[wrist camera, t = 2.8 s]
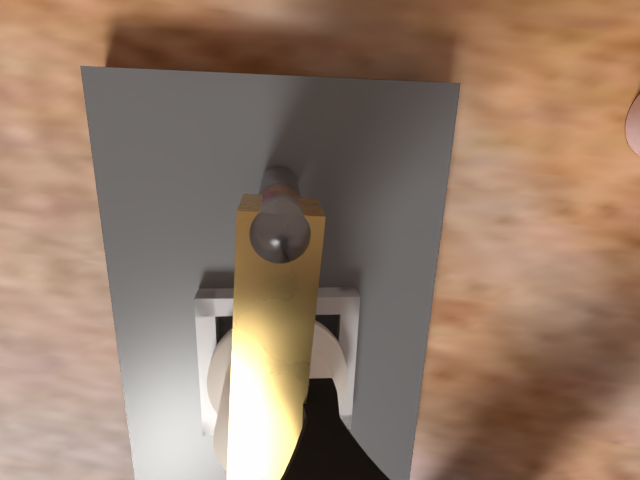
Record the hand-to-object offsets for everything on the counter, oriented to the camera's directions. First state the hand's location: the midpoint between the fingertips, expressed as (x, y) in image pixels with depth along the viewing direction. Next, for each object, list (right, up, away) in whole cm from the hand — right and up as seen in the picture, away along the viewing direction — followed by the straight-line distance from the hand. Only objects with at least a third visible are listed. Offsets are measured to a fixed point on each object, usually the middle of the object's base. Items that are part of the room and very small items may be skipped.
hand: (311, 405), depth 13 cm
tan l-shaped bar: (-2, +1, +5) cm, 6 cm away
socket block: (-2, +2, +7) cm, 8 cm away
